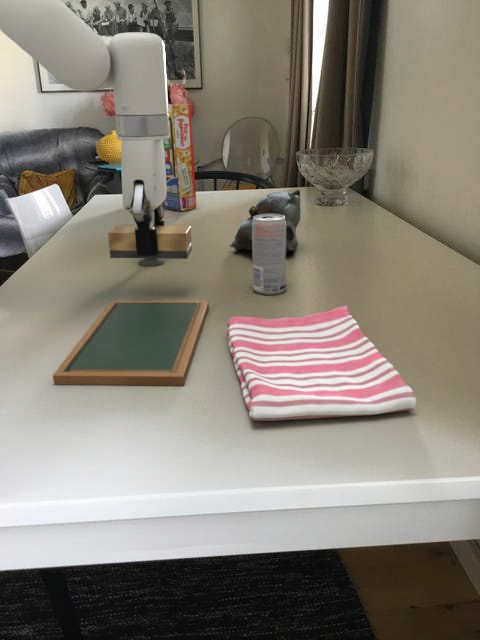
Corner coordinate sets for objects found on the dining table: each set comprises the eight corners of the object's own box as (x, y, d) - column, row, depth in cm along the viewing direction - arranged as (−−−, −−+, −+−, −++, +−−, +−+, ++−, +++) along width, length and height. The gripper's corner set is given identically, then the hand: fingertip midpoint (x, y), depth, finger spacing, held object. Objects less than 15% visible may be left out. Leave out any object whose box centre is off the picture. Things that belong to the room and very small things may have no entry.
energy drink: (281, 283, 95) (281, 212, 91) (289, 294, 90) (290, 219, 86) (250, 286, 94) (248, 214, 90) (256, 296, 90) (255, 221, 85)
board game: (197, 208, 156) (191, 103, 145) (180, 212, 151) (173, 104, 141) (151, 200, 169) (142, 103, 158) (134, 203, 165) (124, 104, 154)
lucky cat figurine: (221, 247, 117) (237, 183, 117) (271, 263, 122) (286, 201, 122) (252, 242, 103) (269, 169, 104) (307, 260, 108) (323, 190, 109)
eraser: (110, 258, 87) (107, 232, 86) (118, 249, 92) (116, 225, 90) (187, 258, 86) (186, 233, 85) (192, 250, 91) (191, 225, 90)
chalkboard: (54, 384, 65) (52, 375, 64) (112, 308, 87) (111, 300, 86) (183, 385, 64) (183, 376, 63) (209, 307, 86) (208, 300, 85)
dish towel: (347, 326, 78) (348, 302, 77) (418, 415, 56) (422, 385, 55) (224, 335, 76) (223, 311, 75) (250, 432, 55) (249, 401, 53)
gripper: (131, 124, 90) (140, 236, 97) (100, 132, 74) (113, 265, 81) (178, 124, 90) (184, 237, 97) (156, 132, 74) (164, 266, 81)
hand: (151, 248), depth 89 cm, fingers closed on eraser, 5 cm apart
